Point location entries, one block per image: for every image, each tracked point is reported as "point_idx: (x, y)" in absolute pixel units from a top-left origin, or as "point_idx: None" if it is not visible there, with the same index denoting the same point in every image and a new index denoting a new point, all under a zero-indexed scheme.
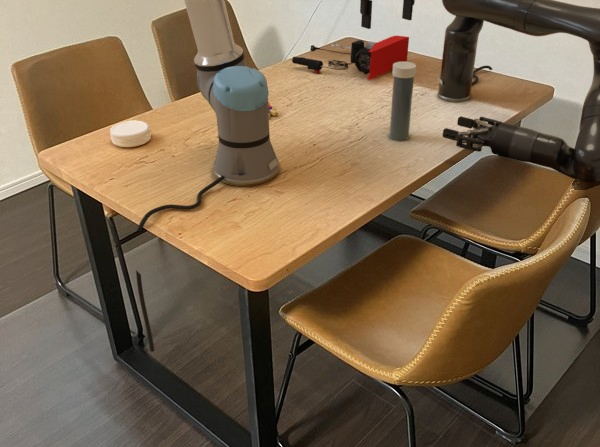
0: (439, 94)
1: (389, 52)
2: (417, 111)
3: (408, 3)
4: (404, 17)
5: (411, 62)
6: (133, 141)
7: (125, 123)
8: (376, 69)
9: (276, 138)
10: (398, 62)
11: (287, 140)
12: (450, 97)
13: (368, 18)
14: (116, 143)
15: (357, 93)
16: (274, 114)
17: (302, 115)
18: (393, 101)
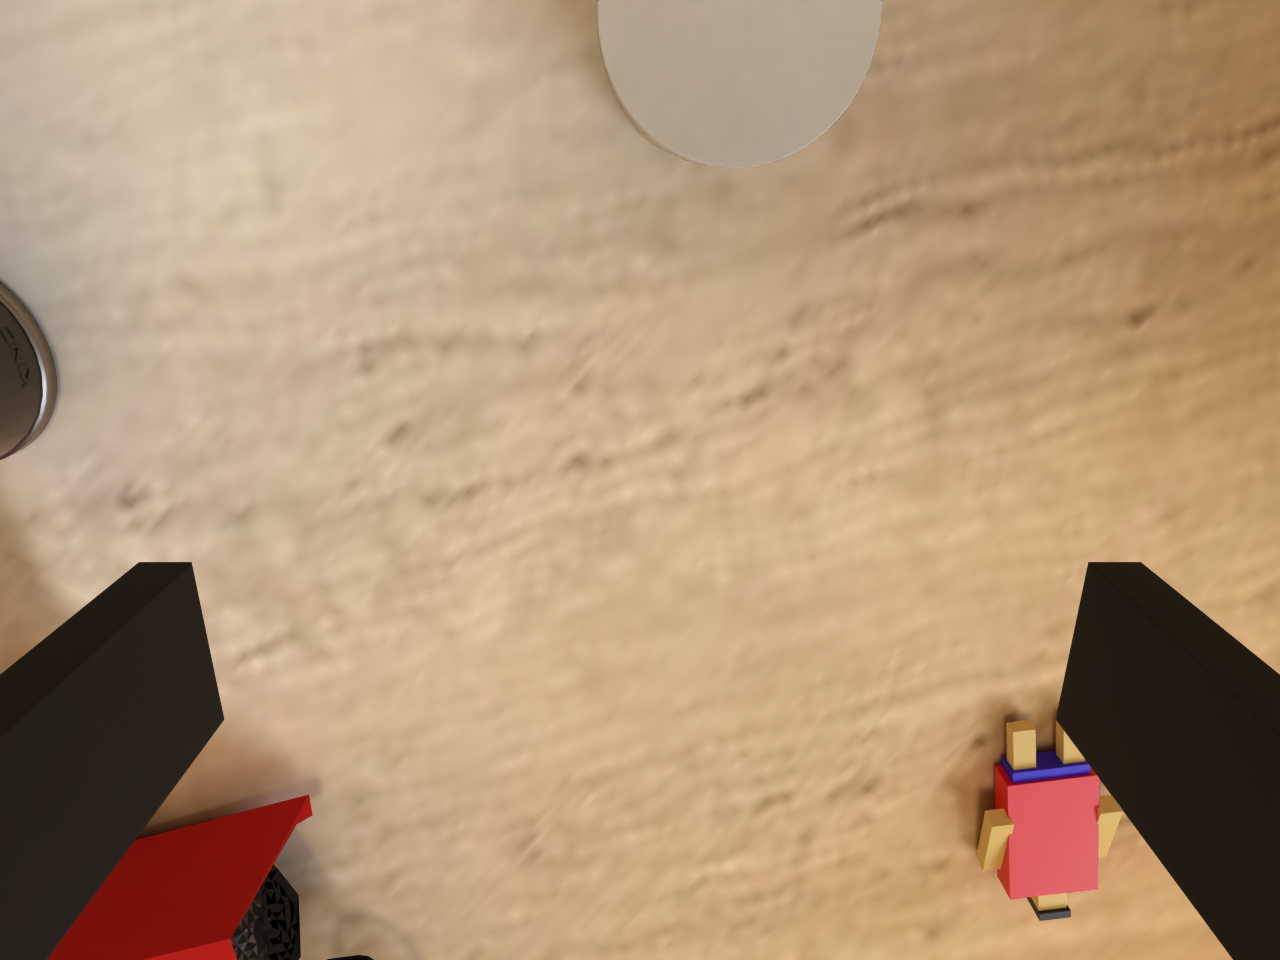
0: (41, 409)
1: None
2: (319, 321)
3: (17, 807)
4: (203, 685)
5: (600, 40)
6: None
7: None
8: (218, 847)
9: (1213, 505)
10: (725, 145)
11: (1193, 451)
12: (8, 316)
13: (1255, 667)
14: None
15: (455, 720)
16: (1029, 724)
17: (899, 656)
18: None
